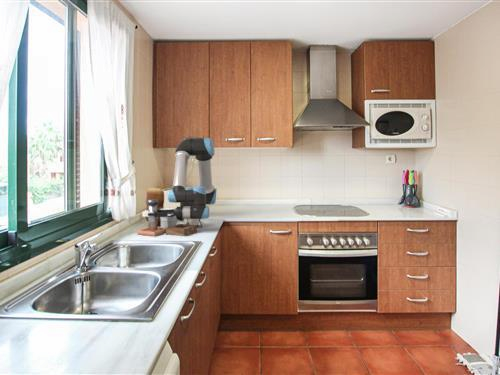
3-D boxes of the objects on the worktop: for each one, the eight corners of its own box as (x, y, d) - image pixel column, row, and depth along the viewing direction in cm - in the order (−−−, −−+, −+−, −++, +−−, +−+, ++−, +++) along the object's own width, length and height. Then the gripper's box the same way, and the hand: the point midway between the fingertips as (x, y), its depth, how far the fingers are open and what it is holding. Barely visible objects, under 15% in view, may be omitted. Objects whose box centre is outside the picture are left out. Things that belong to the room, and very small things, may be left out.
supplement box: (169, 226, 237) (169, 207, 236) (177, 227, 232) (176, 208, 231) (160, 228, 231) (159, 208, 230) (167, 229, 226) (167, 209, 225)
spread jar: (181, 227, 235) (181, 209, 234) (195, 224, 243) (195, 207, 242) (193, 229, 227) (192, 211, 226) (207, 227, 235) (207, 209, 234)
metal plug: (152, 228, 220) (151, 199, 218) (161, 229, 217) (160, 199, 215) (144, 230, 214) (143, 200, 212) (153, 231, 210) (152, 200, 209)
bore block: (179, 230, 225) (179, 223, 224) (197, 232, 219) (197, 225, 219) (166, 234, 213) (166, 227, 213) (184, 236, 207) (184, 229, 207)
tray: (152, 230, 224) (152, 226, 224) (168, 232, 218) (168, 228, 218) (137, 234, 212) (137, 230, 212) (154, 236, 207) (154, 232, 207)
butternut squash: (170, 224, 243) (169, 187, 241) (156, 228, 232) (154, 189, 230) (155, 222, 250) (154, 186, 248) (140, 226, 239) (139, 188, 237)
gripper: (181, 221, 207) (140, 222, 205) (185, 216, 225) (146, 217, 223) (181, 208, 206) (139, 209, 205) (184, 204, 224) (146, 205, 223)
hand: (143, 213), depth 214 cm, fingers closed on metal plug, 5 cm apart
